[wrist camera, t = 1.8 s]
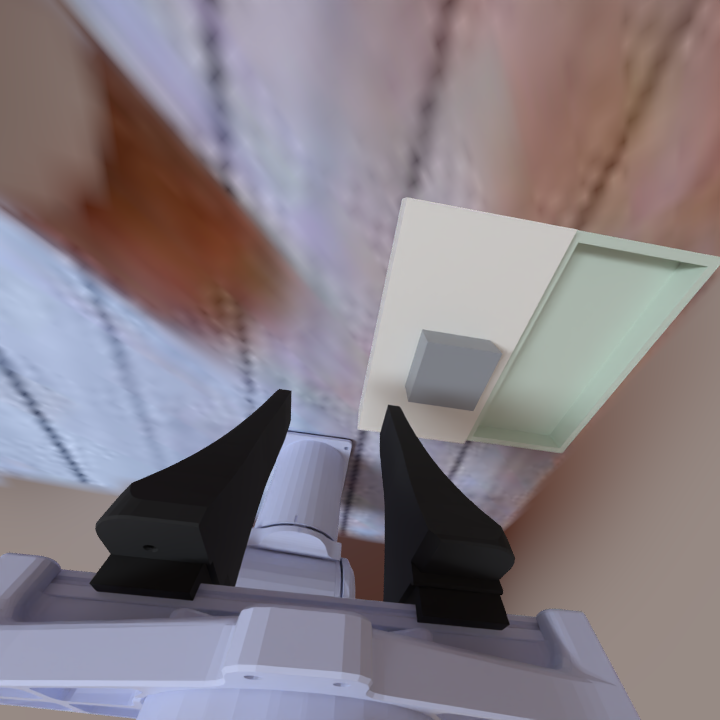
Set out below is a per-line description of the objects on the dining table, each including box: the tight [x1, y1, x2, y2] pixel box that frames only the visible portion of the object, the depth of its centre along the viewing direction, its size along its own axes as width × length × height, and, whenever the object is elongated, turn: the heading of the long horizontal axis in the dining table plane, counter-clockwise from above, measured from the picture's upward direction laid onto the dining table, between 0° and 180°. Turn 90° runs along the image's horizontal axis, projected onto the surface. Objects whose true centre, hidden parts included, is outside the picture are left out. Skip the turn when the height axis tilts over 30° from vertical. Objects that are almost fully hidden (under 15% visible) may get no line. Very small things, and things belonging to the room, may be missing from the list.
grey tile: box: [405, 329, 502, 411], centre depth 19 cm, size 5×5×2 cm
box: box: [466, 230, 720, 453], centre depth 21 cm, size 18×10×2 cm, turn 171°
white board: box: [358, 198, 577, 444], centre depth 20 cm, size 18×10×2 cm, turn 171°
